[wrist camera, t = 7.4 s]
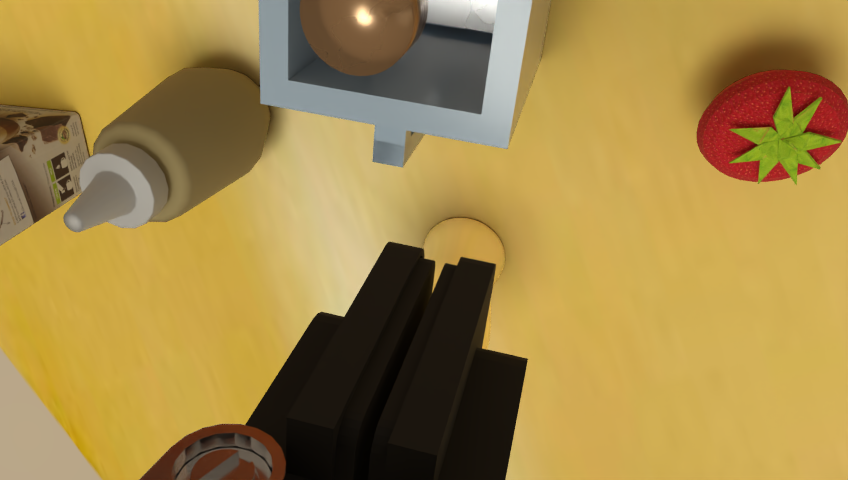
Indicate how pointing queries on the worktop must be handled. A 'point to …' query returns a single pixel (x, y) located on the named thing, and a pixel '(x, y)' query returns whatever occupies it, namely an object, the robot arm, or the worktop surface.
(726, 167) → the strawberry
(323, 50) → the plunger
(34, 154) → the coffee box
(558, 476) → the worktop surface
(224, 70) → the squeeze bottle
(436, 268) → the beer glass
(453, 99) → the gray square open container
